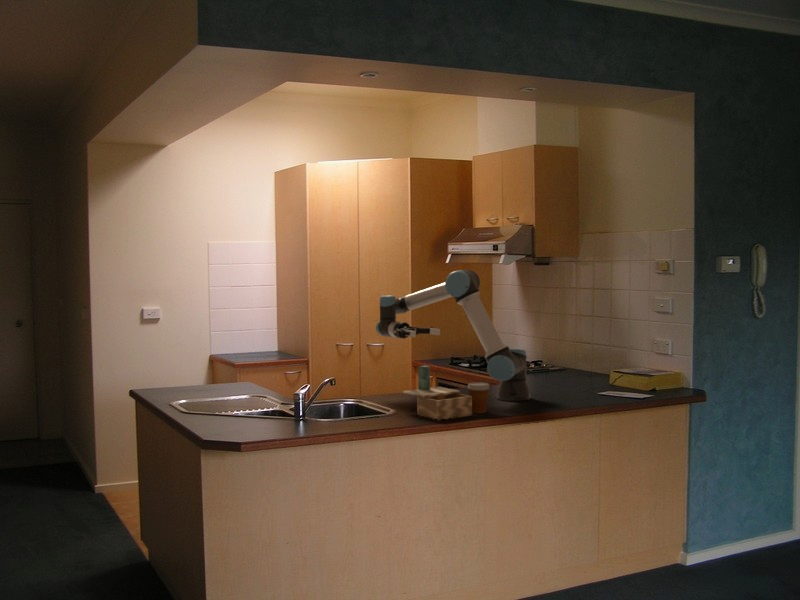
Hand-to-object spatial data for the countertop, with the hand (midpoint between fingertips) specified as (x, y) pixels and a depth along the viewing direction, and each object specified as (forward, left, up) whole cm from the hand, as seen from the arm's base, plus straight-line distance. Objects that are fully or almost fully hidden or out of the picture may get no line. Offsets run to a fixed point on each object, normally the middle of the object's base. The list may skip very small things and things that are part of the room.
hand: (427, 333), depth 377 cm
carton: (+10, +25, -32) cm, 42 cm away
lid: (+10, +16, -24) cm, 30 cm away
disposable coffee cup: (-6, +28, -32) cm, 43 cm away
